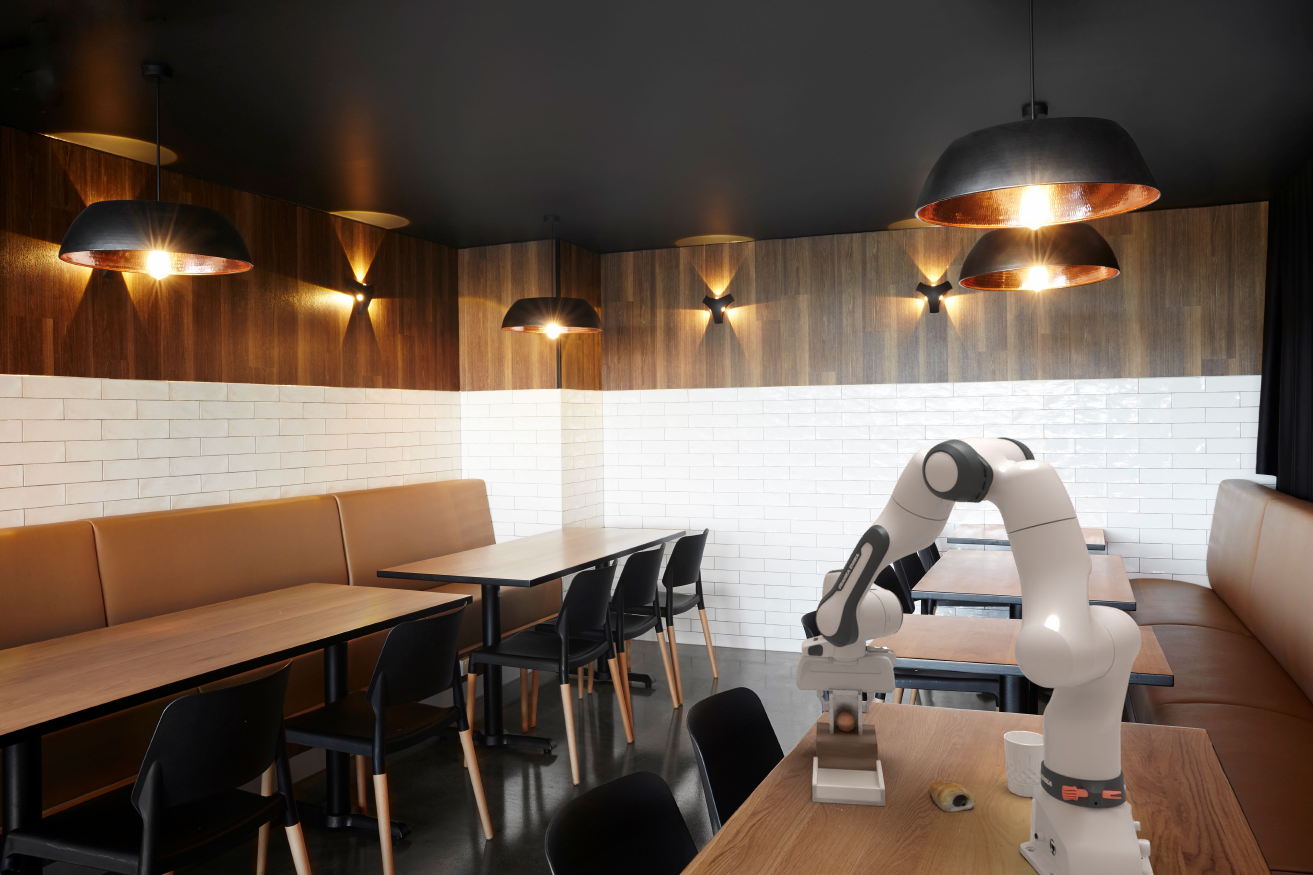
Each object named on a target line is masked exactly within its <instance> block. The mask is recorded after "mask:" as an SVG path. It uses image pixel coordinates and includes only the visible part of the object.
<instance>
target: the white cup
mask: <svg viewBox="0 0 1313 875" xmlns="http://www.w3.org/2000/svg"><path fill="white" fill-rule="evenodd" d="M1003 745H1004V747H1003V748H1004V761H1005V772H1006V775H1007V776H1006V779H1007V780H1006V782H1007V789H1008V791H1009V792H1010V793H1012V794H1013V795H1016V796H1019V797H1023V798H1029V797H1032V799H1033V798H1034V797H1035V796H1037V795H1038V793H1039V792H1040V791H1041V789H1042V785H1041V776H1040V769H1041V762H1042V761H1043V760H1044V749H1043V734H1042V733H1037V732H1034V731H1028V730H1027V731H1026V730H1013V731H1007V732H1006V733H1004V734H1003Z"/></svg>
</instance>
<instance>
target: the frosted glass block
mask: <svg viewBox="0 0 1313 875" xmlns="http://www.w3.org/2000/svg"><path fill="white" fill-rule="evenodd" d="M828 701H829V712H828V713H829V714H828V717H829V718H828V720H829V723H830V734H834V726H837V724H836V718H837V716H838V714H839V713H841V712H849V713H851V714H852V715H853V716H854V717H855V720H856V724H855V727H858V734H859V735H863V726H862V724H863V713H862V703H863V692H862V690H860V689H833V688H829V691H828Z"/></svg>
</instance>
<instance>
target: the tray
mask: <svg viewBox="0 0 1313 875" xmlns="http://www.w3.org/2000/svg"><path fill="white" fill-rule="evenodd" d="M812 764H813V766H812V781H811V782H812V785H811V788H812V790H811V791H812V792H811V793H812V795H811V796H812V802H813V803H825V804H826V803H829V804H844V805H862V806H879V807H886V788H885V782H884V781H885V780H884V775H883V769H882V768H883V767H882V762H881V759H879V760H876V768H877V771H863V770H844V769H825V768H818V757H816V756H813V763H812Z"/></svg>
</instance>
